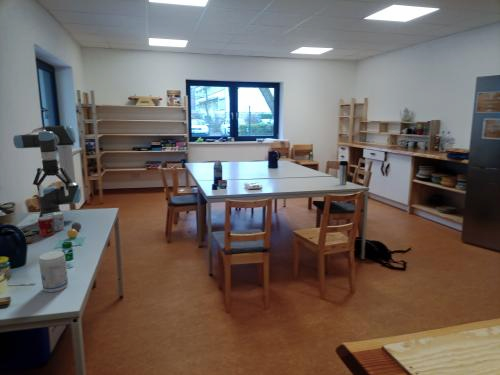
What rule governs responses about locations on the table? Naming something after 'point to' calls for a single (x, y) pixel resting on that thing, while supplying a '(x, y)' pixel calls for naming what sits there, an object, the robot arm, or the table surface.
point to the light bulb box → (57, 220)
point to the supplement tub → (53, 271)
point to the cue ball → (76, 226)
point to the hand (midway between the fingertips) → (54, 196)
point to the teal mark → (76, 240)
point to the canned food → (46, 226)
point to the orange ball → (72, 233)
